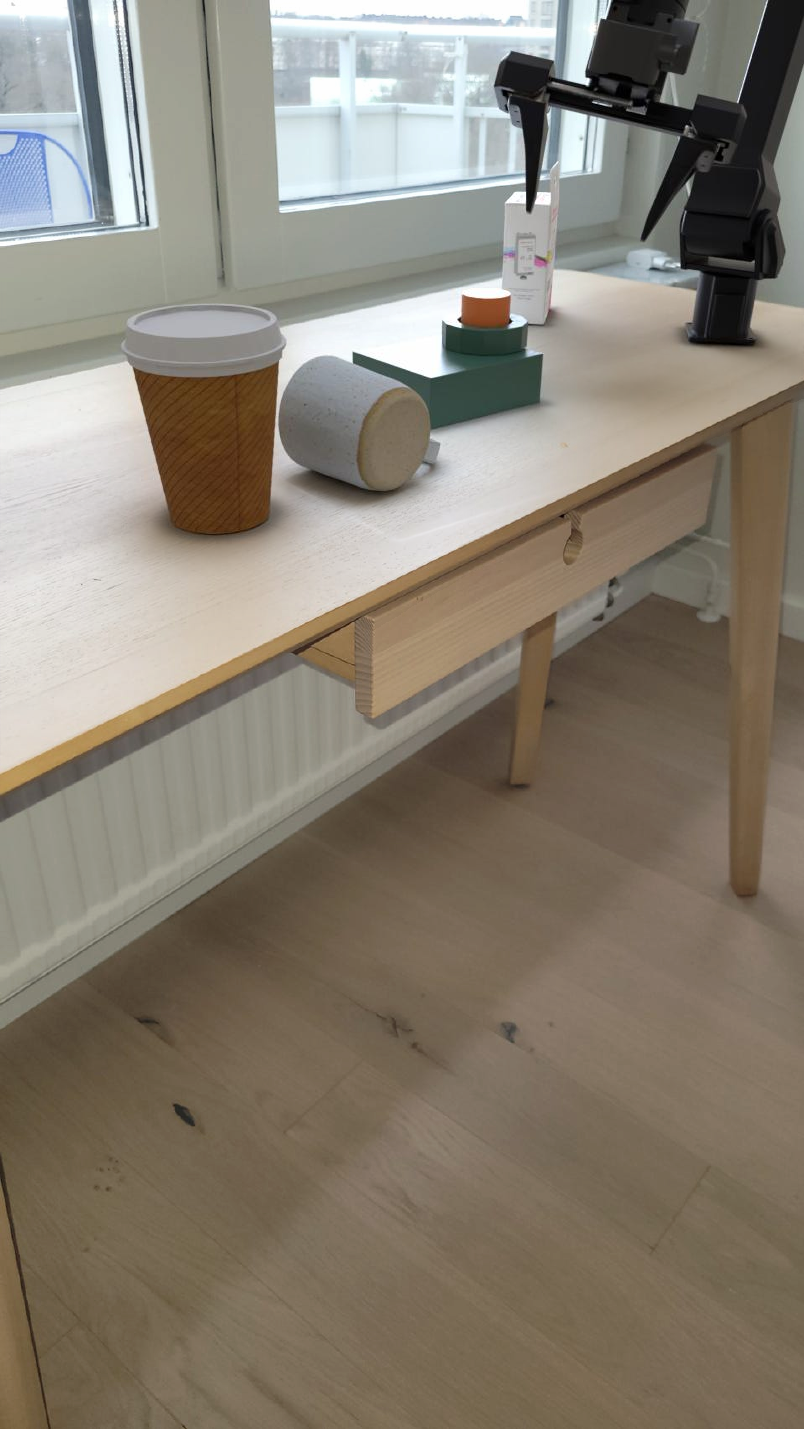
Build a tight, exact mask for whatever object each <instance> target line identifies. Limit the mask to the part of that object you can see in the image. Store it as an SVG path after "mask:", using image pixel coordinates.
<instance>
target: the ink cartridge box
mask: <svg viewBox="0 0 804 1429" xmlns="http://www.w3.org/2000/svg"><path fill="white" fill-rule="evenodd" d="M549 180H550V184H549V190H550V191H549V192H542V191H541V192H539V191H538V193H537V197H536V201H535V204H534V207H533V210H532V213H531V214H527V213H526V191H515V192H513V194H512V195H511V196H510V197H509V198H508V199H507V200H506V201H505V202H504V226H503V227H504V228H503V229H504V230H503V250H502V251H503V252H502V274H501V275H502V276H501V278H502V279H501V290H505V291H508V292H510V293H511V303H510V313H511V314H515V315H519V316H522V317H524V318H525V319H526V320H527V321H528V325H544V324H545V323H546V320H547V317H548V314H549V311H550V308H551V305H552V304H551V303H552V290H553V278H554V266H555V256H556V255H555V254H556V242H557V232H558V231H557V229H558V218H559V203H560V161H559V160H557V161H556V162H555V164H553V166H552V167H551V169H550V170H549Z"/></svg>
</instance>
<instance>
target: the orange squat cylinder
mask: <svg viewBox="0 0 804 1429" xmlns="http://www.w3.org/2000/svg"><path fill="white" fill-rule="evenodd" d="M510 303H511V293H510V292H508V291H505V290H502V288H492V287H490V288H489V287H482V288H481V287H478V288H469V289H466V290H465V289H464V290H463V291H462V292H461V310H460V312H461V323H462V324H466V325H470V326H479V327H498V326H504V325H509V320H510Z"/></svg>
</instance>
